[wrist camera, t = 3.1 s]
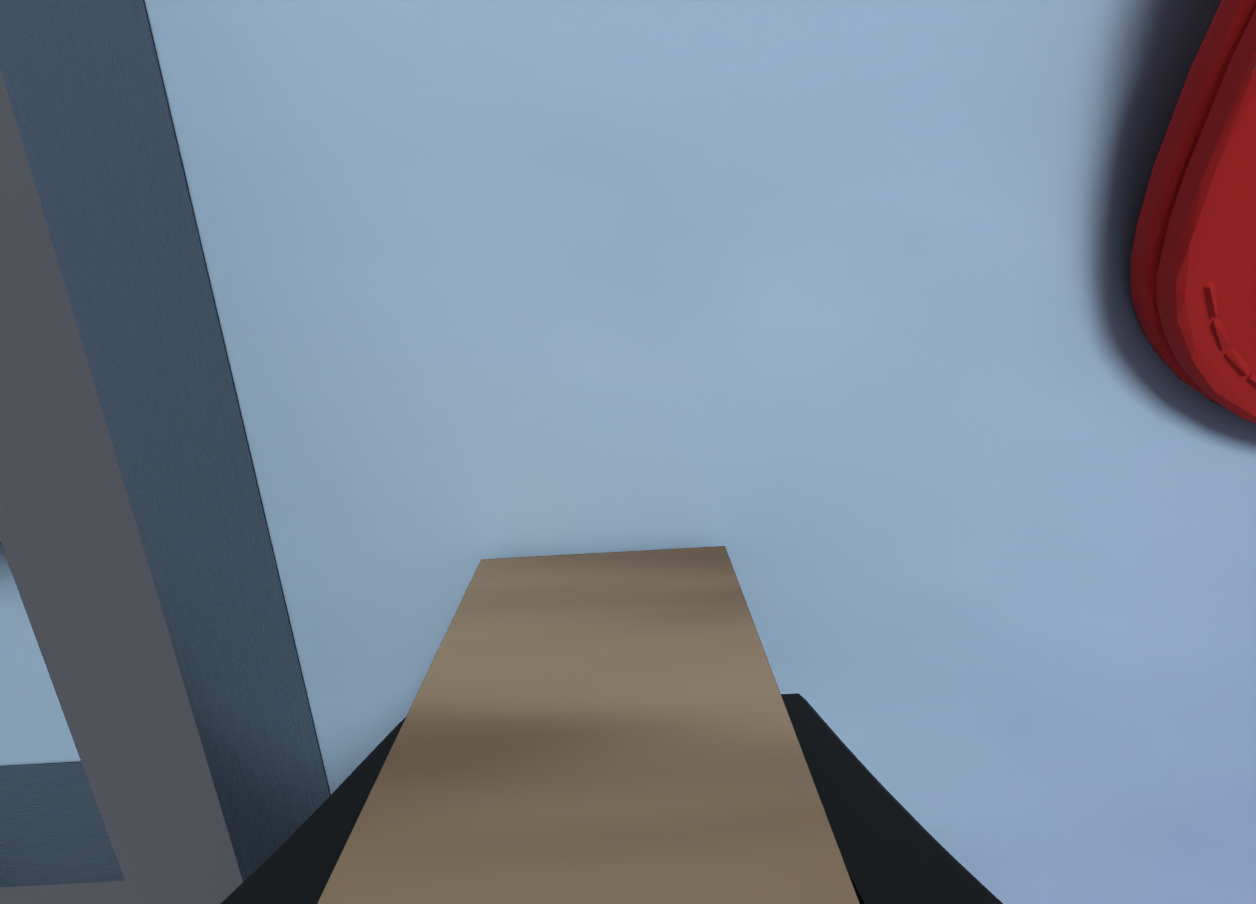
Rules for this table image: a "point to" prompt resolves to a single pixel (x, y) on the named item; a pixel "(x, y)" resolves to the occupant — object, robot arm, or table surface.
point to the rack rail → (130, 496)
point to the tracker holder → (1206, 222)
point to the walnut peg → (596, 750)
